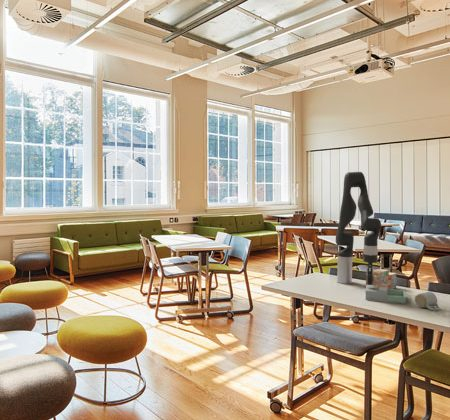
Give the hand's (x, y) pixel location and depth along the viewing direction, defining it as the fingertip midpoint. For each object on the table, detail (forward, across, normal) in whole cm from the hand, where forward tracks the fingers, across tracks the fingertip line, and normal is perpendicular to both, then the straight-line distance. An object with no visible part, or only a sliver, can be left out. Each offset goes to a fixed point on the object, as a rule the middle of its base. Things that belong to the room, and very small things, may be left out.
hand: (369, 283), depth 225 cm
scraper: (0, 0, 0) cm, 0 cm away
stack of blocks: (+8, -22, +7) cm, 24 cm away
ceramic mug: (+8, +12, +28) cm, 32 cm away
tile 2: (+2, -4, +7) cm, 8 cm away
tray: (+7, 0, +14) cm, 16 cm away
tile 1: (+2, +4, +7) cm, 8 cm away
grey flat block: (+7, 0, +4) cm, 8 cm away
